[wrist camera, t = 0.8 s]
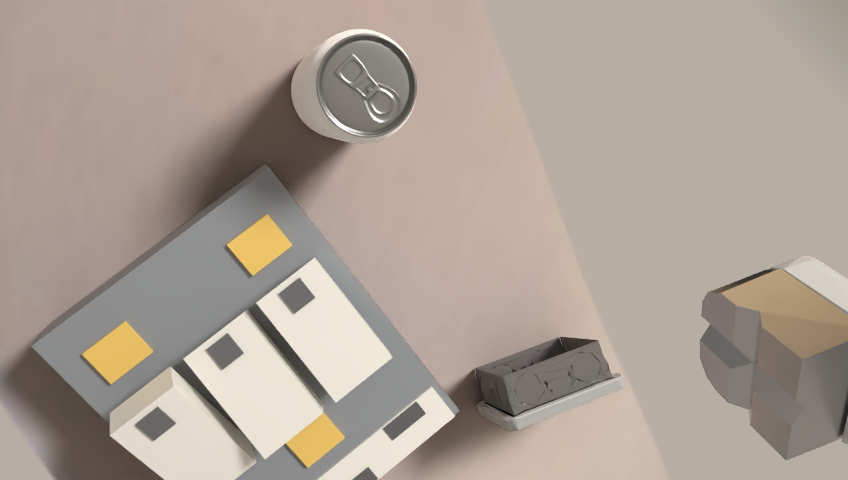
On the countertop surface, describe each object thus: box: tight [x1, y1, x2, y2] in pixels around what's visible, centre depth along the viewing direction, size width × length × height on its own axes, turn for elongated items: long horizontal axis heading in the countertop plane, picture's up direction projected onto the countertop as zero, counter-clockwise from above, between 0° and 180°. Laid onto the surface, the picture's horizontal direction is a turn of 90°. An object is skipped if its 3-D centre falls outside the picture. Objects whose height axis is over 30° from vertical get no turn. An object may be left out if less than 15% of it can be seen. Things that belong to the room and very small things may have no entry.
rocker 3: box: [256, 258, 392, 402], centre depth 46 cm, size 8×4×3 cm, turn 36°
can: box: [291, 29, 417, 144], centre depth 45 cm, size 6×6×12 cm
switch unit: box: [31, 163, 460, 480], centre depth 49 cm, size 22×18×6 cm
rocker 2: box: [184, 309, 324, 459], centre depth 45 cm, size 8×4×3 cm, turn 36°
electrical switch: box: [475, 337, 626, 431], centre depth 54 cm, size 9×5×9 cm, turn 105°
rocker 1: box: [110, 366, 256, 480], centre depth 44 cm, size 8×4×3 cm, turn 36°
